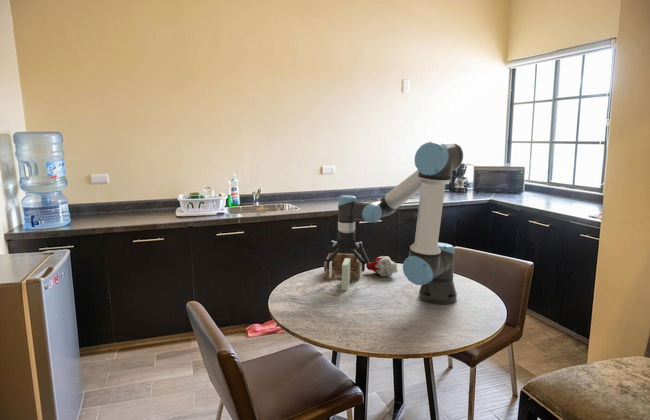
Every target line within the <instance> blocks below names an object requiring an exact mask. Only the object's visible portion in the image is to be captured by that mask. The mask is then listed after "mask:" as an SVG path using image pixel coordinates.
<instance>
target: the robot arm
mask: <svg viewBox="0 0 650 420" xmlns="http://www.w3.org/2000/svg"><path fill="white" fill-rule="evenodd" d="M463 160H464V151H463V148H462V147H461V145H460V144H459V143H457V142H456V141H453V140H449V139H447V140H431V141H427V142H425V143H423V144H422V145H420V146H419V148H418V149H417V150H416V152H415V155H414V165H415V167H416V168H417V170H415V171H414V172H413V173H412V174H410V175H409V176H408V177H407V178H405V179H404V180H402V181H401V182H400V183H399V184H397V185H396V186H395V187H394V188H392V189H391V190H390V191H388V192H387V193H386V194H385V195H383V196H381V198H379V199H377V200H373V201H368V202H361V201H357V197H356V196H355V195H352V194H351V195H350V194H344V195H340V196H339V197H338V205H337V208H338V209H337V210H338V211H337V214H338V216H337V217H338V219H337V230H338V231H337V241H335V240H334V239H332V240H331V241H330V243H329V244H330V245H329V247H328V249H327V251H326V252H325V255H324V257H323V258H322V261H323V262H324V261H326V262H327V269H329V277H331V276H332V261H331V260H332V259H333V258H334V257H335V256H336V255H337V254H338V253H340V252H342V253H345V252H346V253H350V252H351V254H354V255H355V256H356V257H357V259H358V260H359V261H360V262H361V264H360V277H359V280H362V278H363V272H365V271H366V270H365V268H366V264H368V263H370V260H369V257H368V256H367V253H366V251H365V248H364V247H363V241H359V242H358V241H357V242H356V220H358V221H363V222H367V223H377V222H379V220H380V219H381V218H383V217H388V216H390V215H393V214H394V213H395V212H396V209H397V208H399V207H401V206H402V205H403V204H405V203H406V202H407V201H409V200H411V198H413V197H414V196H415V195H417V194H418V193H420V195H419V203H418V209H417V210H418V211H417V219H416V227H415V236H414V242H413V244H411V245H410V246H409V253H408V256H407V258H405V259H404V261H403V263H402V271H403V272H402V273H403V275H404V276H405V277H406V279H407V280H408V281H409V282H410V283H411V284H414V285H416V286H420V288H419V290H418V297H419V299H420V300H422V301H424V302H425V303H430V304H435V305H450V304H453V303H455V302H456V301H457V290H456V286H455V284H454V273H455V256H456V252H455V251H456V250H455V246H453V245H452V244H449V243H445V242H439V236H440V230H441V224H442V223H441V220H442V214H443V206H444V199H445V190H446V184H448V183H449V182H450V181H451V178H452V172H453V171H455V170H457V169H458V168H460V166H461V165H462V163H463ZM335 246H337V249H335V251H333V252H332V253H333V254H332V255H331V256H330V257H329V258H327V257H328V255H329V253H331V251H332V249H333V247H335ZM355 247H357V248H358V249H359V250H360V253H361V256H360V255H359V254H360V253H359V252H358V250H356V248H355Z"/></svg>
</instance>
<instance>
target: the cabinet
mask: <svg viewBox="0 0 650 420" xmlns="http://www.w3.org/2000/svg"><path fill="white" fill-rule="evenodd" d="M333 253H334V252H330V253H329V255H328V257H327V258H329V257H330V256H331V255H332V254H333ZM358 254H359V255H360V256H361V257H362V253H361V254H360V253H358ZM345 258H350V281H354V282H355V281H357V282H358V281H359V280H360V264H361V262H360V261H359V260H358V259H357V257H356V256H355V255H354V254H353V253H340V252H339V253H338V254H337V255H336V256H335V257H334V258H333V259H332V260H331V261H332V276H331V277H329V269H327V262H326V261H323V274H324V275H323V279H324V280H335V279H337V280H339V281H342V264H343V262H344V259H345Z"/></svg>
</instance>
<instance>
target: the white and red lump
mask: <svg viewBox="0 0 650 420" xmlns="http://www.w3.org/2000/svg"><path fill="white" fill-rule="evenodd" d="M397 265H398V264H397V263H396V262H395V261H393V260H391V257H390V256H385V255H382V256H381V255H380V256H377V257H376V258H375V259H374V260H373V261H371V262H370V261H369V263H368V264H365V268H366V269H367V270H368V271H372V272H373V273H374V272H375V274H377V275H380V276H381V277H391V276H392V275H393V274H394V273H398V266H397Z"/></svg>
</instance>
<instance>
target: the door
mask: <svg viewBox="0 0 650 420" xmlns="http://www.w3.org/2000/svg"><path fill="white" fill-rule="evenodd" d="M350 284H351V280H350V258H345V259H344V262H343V264H342V280H341V290H342V291H348V290H349V286H350Z"/></svg>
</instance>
